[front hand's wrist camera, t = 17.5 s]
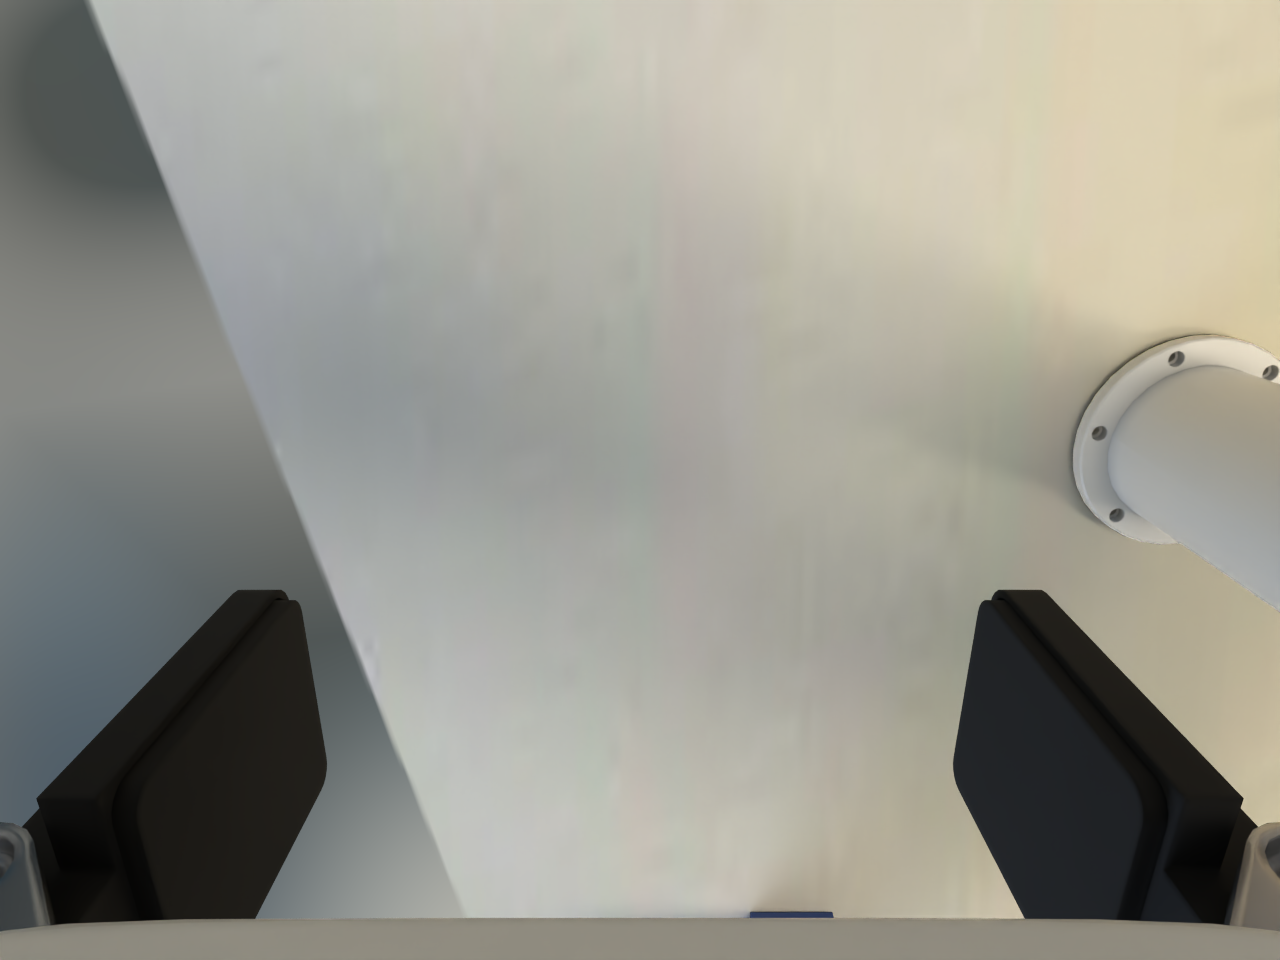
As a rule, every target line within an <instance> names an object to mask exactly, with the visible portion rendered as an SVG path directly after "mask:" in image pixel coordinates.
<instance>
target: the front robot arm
mask: <svg viewBox="0 0 1280 960" xmlns="http://www.w3.org/2000/svg"><path fill="white" fill-rule="evenodd" d="M1094 429H1095V430H1094ZM1093 430H1094V431H1093ZM1073 472H1074V476H1075V481H1076V485H1077V488H1078V490H1079V492H1080V494H1081V497H1082V499H1083V501H1084V503H1085V504H1086V505H1087V506H1088V508H1089V509H1090V510H1091V511H1092V512H1093V514H1094V515H1095V516H1096V517H1097V518H1099V519H1100V520H1101V521H1102V522H1103V523H1105V524H1106V525H1107V526H1108V527H1110V528H1112V529H1113V530H1115V531H1117V532H1118V533H1120V534H1122V535H1123V536H1126V537H1129V538H1132V539H1134V540H1137V541H1140V542H1146V543H1154V544H1182V545H1183V546H1185V547H1186V548H1187V549H1189V550H1190V551H1192V552H1193V553H1195V554H1196V555H1198V556H1199V557H1200V558H1202V559H1203V560H1205V561H1206V562H1208V563H1209V564H1211V565H1212V566H1213V567H1215V568H1216V569H1218V570H1219V571H1221V572H1222V573H1224V574H1225V575H1227V576H1228V577H1229V578H1231V579H1232V580H1234V581H1235V582H1237V583H1238V584H1240V585H1241V586H1242V587H1244V588H1245V589H1247V590H1248V591H1250V592H1251V593H1253V594H1254V595H1255V596H1257V597H1258V598H1260V599H1261V600H1263V601H1264V602H1266V603H1267V604H1268V605H1270V606H1271V607H1273V608H1274V609H1276V610H1277V611H1279V612H1280V360H1279V359H1277V358H1276V357H1275V356H1274V355H1273V354H1272V353H1271V352H1269V351H1267V350H1265V349H1263V348H1261V347H1259V346H1257V345H1255V344H1253V343H1250V342H1247V341H1243V340H1240V339H1237V338H1233V337H1226V336H1219V335H1196V336H1188V337H1184V338H1180V339H1175V340H1171V341H1168V342H1166V343H1163V344H1161V345H1158V346H1156V347H1153V348H1151V349H1149V350H1147V351H1145V352H1144V353H1142V354H1140V355H1139V356H1137V357H1135V358H1134V359H1132V360H1131V361H1129V362H1128V363H1126V364H1125V365H1124V366H1123V367H1122V368H1121V369H1119V370H1118V371H1117V372H1116V373H1115V374H1113V375H1112V376H1111V377H1110V378H1109V379H1108V381H1107V382H1106V383H1105V384H1104V385H1103V386H1102V388H1101V389H1100V390H1099V391H1098V392H1097V393H1096V395H1095V396H1094V398H1093V400H1092V401H1091V403H1090V404H1089V406H1088V408H1087V409H1086V411H1085V413H1084V415H1083V418H1082V420H1081V423H1080V425H1079V428H1078V430H1077V434H1076V439H1075V444H1074V449H1073ZM326 771H327V759H326V753H325V746H324V740H323V734H322V729H321V723H320V717H319V711H318V705H317V699H316V693H315V687H314V681H313V675H312V669H311V663H310V657H309V651H308V645H307V639H306V633H305V627H304V622H303V615H302V610H301V607H300V605H299V603H298V602H297V601H296V600H289V599H288V597H287V595H286V593H285V592H283V591H282V590H238V591H236V592H235V593H233V594H232V595H231V596H230V597H229V598H228V599H227V600H226V602H225V603H224V604H223V605H222V606H221V607H220V608H219V609H218V610H217V611H216V612H215V613H214V614H213V615H212V616H211V617H210V618H209V619H208V620H207V621H206V622H205V623H204V624H203V626H202V627H201V628H200V629H199V630H198V631H197V632H196V633H195V634H194V635H193V636H192V637H191V638H190V639H189V640H188V641H187V642H186V643H185V644H184V645H183V646H182V647H181V648H180V649H179V650H178V652H177V653H176V654H175V655H174V656H173V657H172V658H171V659H170V660H169V661H168V662H167V663H166V664H165V665H164V666H163V667H162V668H161V669H160V670H159V671H158V672H157V673H156V674H155V676H154V677H153V678H152V679H151V680H150V681H149V682H148V683H147V684H146V685H145V686H144V687H143V688H142V689H141V690H140V691H139V692H138V693H137V694H136V695H135V696H134V697H133V698H132V699H131V701H130V702H129V703H128V704H127V705H126V706H125V707H124V708H123V709H122V710H121V711H120V712H119V713H118V714H117V715H116V716H115V717H114V718H113V719H112V720H111V721H110V722H109V723H108V724H107V726H106V727H105V728H104V729H103V730H102V731H101V732H100V733H99V734H98V735H97V736H96V737H95V738H94V739H93V740H92V741H91V742H90V743H89V744H88V745H87V746H86V747H85V748H84V749H83V750H82V752H81V753H80V754H79V755H78V756H77V757H76V758H75V759H74V760H73V761H72V762H71V763H70V764H69V765H68V766H67V767H66V768H65V769H64V770H63V771H62V772H61V773H60V774H59V776H58V777H57V778H56V779H55V780H54V781H53V782H52V783H51V784H50V785H49V786H48V787H47V788H46V789H45V790H44V791H43V792H42V793H41V794H40V795H39V796H38V797H37V802H38V805H39V809H38V810H37V812H36V813H35V814H34V815H33V816H32V817H31V818H30V819H29V820H28V821H27V822H26V823H25V824H24V825H23V826H22V827H20V826H18V825H16V824H14V823H4V822H0V960H1280V822H1276V823H1266V824H1264V825H1262V826H1260V827H1258V826H1257V825H1256V824H1255V823H1254V822H1253V821H1252V820H1251V819H1250V818H1249V817H1248V816H1247V815H1246V814H1245V813H1244V811H1243V810H1242V809H1241V805H1242V802H1243V799H1244V798H1243V797H1242V796H1241V795H1240V794H1239V793H1238V792H1237V791H1236V790H1235V789H1234V788H1233V787H1232V786H1231V785H1230V784H1229V783H1228V782H1227V781H1226V780H1225V779H1224V778H1223V777H1222V775H1221V774H1220V773H1219V772H1218V771H1217V770H1216V769H1215V768H1214V767H1213V766H1212V765H1211V764H1210V763H1209V762H1208V761H1207V760H1206V759H1205V758H1204V757H1203V756H1202V755H1201V754H1200V753H1199V752H1198V750H1197V749H1196V748H1195V747H1194V746H1193V745H1192V744H1191V743H1190V742H1189V741H1188V740H1187V739H1186V738H1185V737H1184V736H1183V735H1182V734H1181V733H1180V732H1179V731H1178V730H1177V729H1176V728H1175V727H1174V725H1173V724H1172V723H1171V722H1170V721H1169V720H1168V719H1167V718H1166V717H1165V716H1164V715H1163V714H1162V713H1161V712H1160V711H1159V710H1158V709H1157V708H1156V707H1155V706H1154V705H1153V704H1152V703H1151V702H1150V700H1149V699H1148V698H1147V697H1146V696H1145V695H1144V694H1143V693H1142V692H1141V691H1140V690H1139V689H1138V688H1137V687H1136V686H1135V685H1134V684H1133V683H1132V682H1131V681H1130V680H1129V679H1128V678H1127V677H1126V675H1125V674H1124V673H1123V672H1122V671H1121V670H1120V669H1119V668H1118V667H1117V666H1116V665H1115V664H1114V663H1113V662H1112V661H1111V660H1110V659H1109V658H1108V657H1107V656H1106V655H1105V654H1104V653H1103V652H1102V650H1101V649H1100V648H1099V647H1098V646H1097V645H1096V644H1095V643H1094V642H1093V641H1092V640H1091V639H1090V638H1089V637H1088V636H1087V635H1086V634H1085V633H1084V632H1083V631H1082V630H1081V629H1080V628H1079V627H1078V625H1077V624H1076V623H1075V622H1074V621H1073V620H1072V619H1071V618H1070V617H1069V616H1068V615H1067V614H1066V613H1065V612H1064V611H1063V610H1062V609H1061V608H1060V607H1059V606H1058V605H1057V604H1056V603H1055V602H1054V600H1053V599H1052V598H1051V597H1050V596H1049V595H1048V594H1047V593H1045V592H1044V591H1043V590H998V591H996V592H995V593H994V595H993V597H992V599H991V600H984V601H983V602H982V603H981V605H980V607H979V610H978V615H977V621H976V627H975V633H974V639H973V645H972V651H971V657H970V663H969V669H968V675H967V681H966V687H965V693H964V699H963V705H962V711H961V717H960V723H959V729H958V734H957V740H956V746H955V752H954V759H953V771H954V777H955V781H956V785H957V787H958V789H959V791H960V793H961V795H962V797H963V799H964V801H965V803H966V805H967V807H968V809H969V811H970V813H971V815H972V817H973V819H974V821H975V823H976V824H977V826H978V828H979V830H980V832H981V834H982V836H983V838H984V840H985V842H986V844H987V846H988V848H989V850H990V852H991V854H992V856H993V858H994V859H995V861H996V863H997V865H998V867H999V869H1000V871H1001V873H1002V875H1003V877H1004V879H1005V881H1006V883H1007V885H1008V887H1009V889H1010V891H1011V893H1012V894H1013V896H1014V898H1015V900H1016V902H1017V904H1018V906H1019V908H1020V910H1021V912H1022V914H1023V916H1024V918H1025V919H956V918H326V919H325V918H324V919H255V918H256V916H257V914H258V912H259V910H260V908H261V906H262V904H263V902H264V900H265V898H266V896H267V894H268V893H269V891H270V889H271V887H272V885H273V883H274V881H275V879H276V877H277V875H278V873H279V871H280V869H281V867H282V865H283V863H284V861H285V859H286V858H287V856H288V854H289V852H290V850H291V848H292V846H293V844H294V842H295V840H296V838H297V836H298V834H299V832H300V830H301V828H302V826H303V824H304V823H305V821H306V819H307V817H308V815H309V813H310V811H311V809H312V807H313V805H314V803H315V801H316V799H317V797H318V795H319V793H320V791H321V789H322V787H323V784H324V781H325V777H326Z"/></svg>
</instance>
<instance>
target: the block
mask: <svg viewBox="0 0 1280 960" xmlns="http://www.w3.org/2000/svg"><path fill="white" fill-rule="evenodd" d="M750 918H834V917H833V913H832V912H751V913H750Z"/></svg>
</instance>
